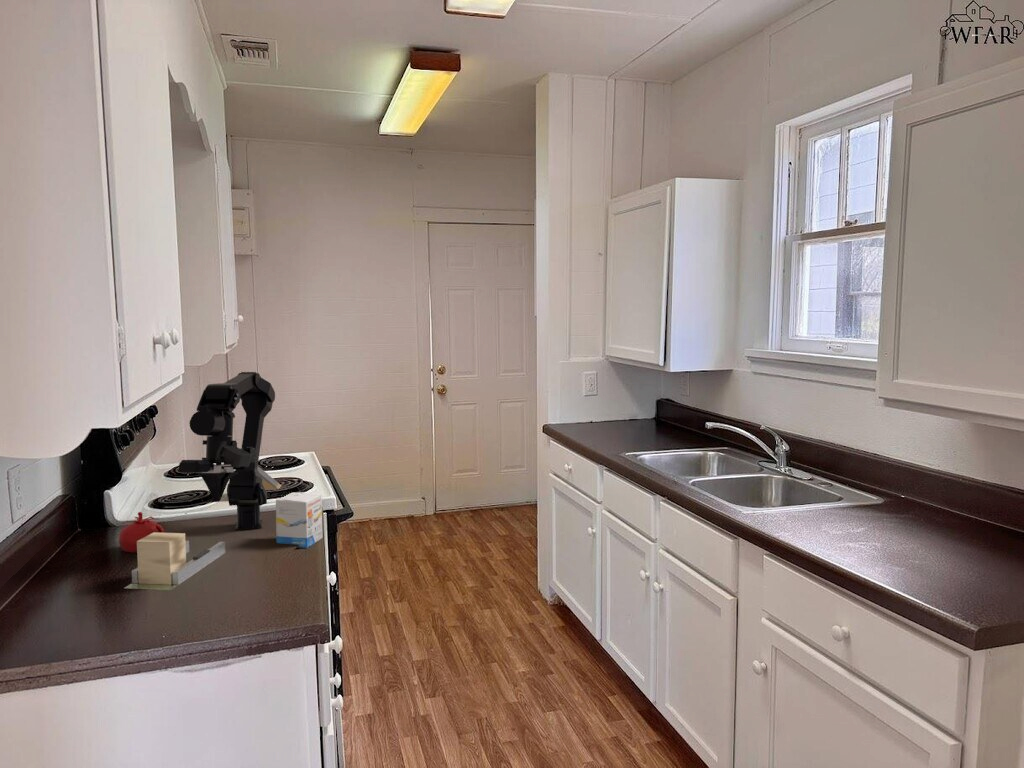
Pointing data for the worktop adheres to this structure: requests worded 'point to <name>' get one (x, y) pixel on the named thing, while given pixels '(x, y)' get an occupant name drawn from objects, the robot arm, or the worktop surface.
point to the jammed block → (160, 557)
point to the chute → (183, 568)
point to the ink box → (299, 519)
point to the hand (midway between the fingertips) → (217, 501)
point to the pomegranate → (137, 532)
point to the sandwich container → (268, 481)
